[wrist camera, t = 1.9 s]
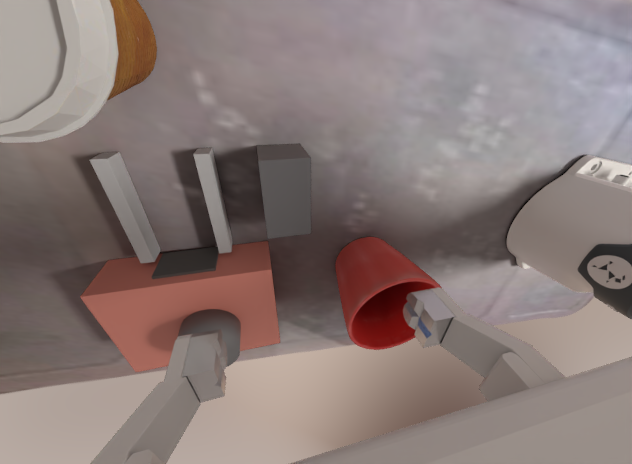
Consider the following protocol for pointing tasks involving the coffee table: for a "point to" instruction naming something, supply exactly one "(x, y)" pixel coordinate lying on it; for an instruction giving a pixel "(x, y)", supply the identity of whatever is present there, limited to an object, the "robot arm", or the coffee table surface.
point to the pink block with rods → (180, 279)
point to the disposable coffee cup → (67, 62)
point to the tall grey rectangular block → (285, 189)
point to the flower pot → (377, 292)
